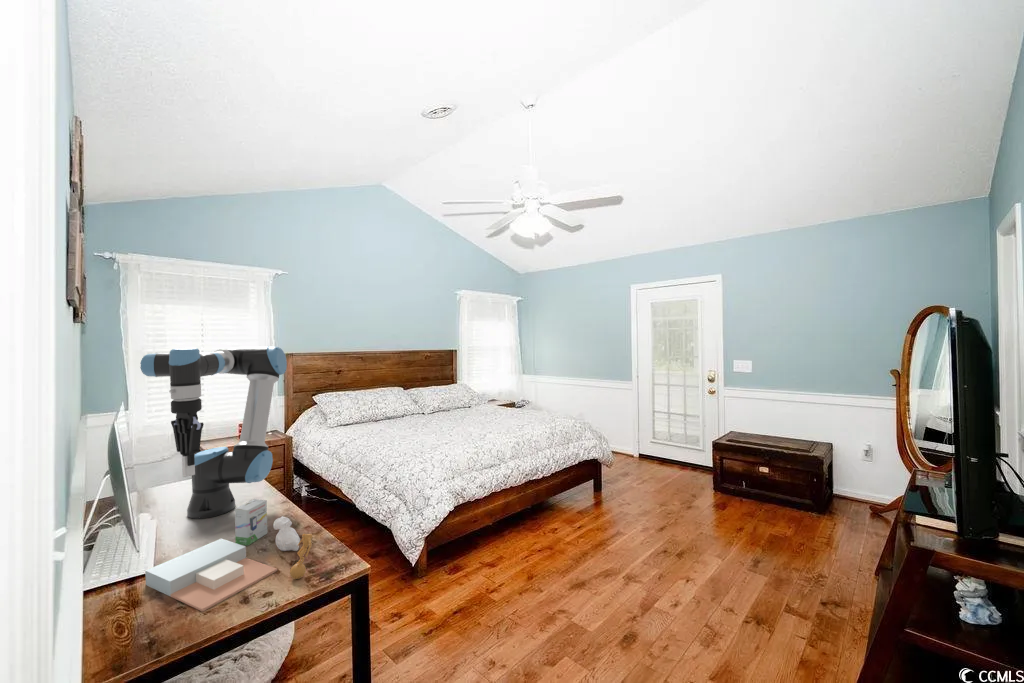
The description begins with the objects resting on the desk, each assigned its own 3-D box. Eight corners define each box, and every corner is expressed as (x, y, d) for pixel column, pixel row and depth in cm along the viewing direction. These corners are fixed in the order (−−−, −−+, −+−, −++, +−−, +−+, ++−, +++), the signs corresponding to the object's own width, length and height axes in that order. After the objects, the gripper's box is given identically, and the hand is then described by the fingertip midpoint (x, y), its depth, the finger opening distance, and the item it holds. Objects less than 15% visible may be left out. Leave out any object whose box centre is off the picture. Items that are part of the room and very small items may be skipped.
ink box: (255, 532, 150) (254, 498, 150) (268, 533, 149) (267, 499, 149) (234, 544, 142) (233, 508, 141) (248, 546, 141) (247, 509, 140)
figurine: (286, 574, 125) (285, 532, 124) (308, 566, 128) (308, 526, 128) (294, 587, 118) (293, 543, 118) (317, 579, 122) (316, 536, 122)
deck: (221, 551, 138) (221, 538, 138) (246, 559, 133) (245, 546, 132) (145, 584, 120) (145, 570, 120) (170, 596, 115) (170, 581, 115)
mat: (246, 559, 133) (246, 557, 133) (277, 570, 126) (277, 568, 126) (170, 596, 115) (170, 594, 115) (202, 611, 108) (202, 609, 108)
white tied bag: (282, 547, 144) (258, 527, 139) (302, 528, 148) (278, 507, 143) (291, 563, 135) (265, 541, 130) (312, 541, 138) (287, 519, 134)
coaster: (226, 567, 127) (225, 559, 127) (243, 574, 124) (243, 565, 124) (196, 582, 120) (195, 573, 120) (213, 589, 117) (213, 580, 116)
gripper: (160, 399, 134) (163, 476, 135) (184, 402, 129) (187, 482, 129) (187, 395, 141) (190, 469, 142) (212, 398, 135) (214, 474, 136)
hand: (188, 475), depth 136 cm, fingers closed
